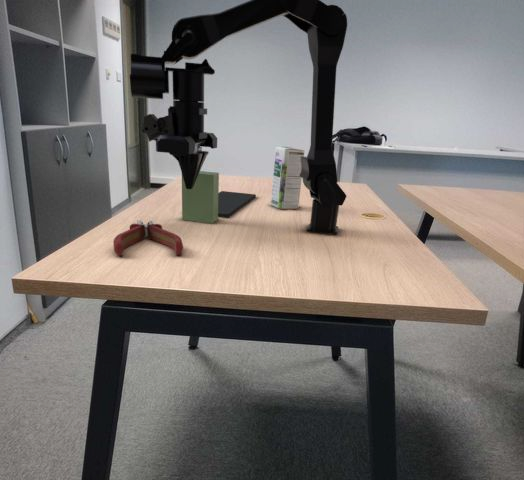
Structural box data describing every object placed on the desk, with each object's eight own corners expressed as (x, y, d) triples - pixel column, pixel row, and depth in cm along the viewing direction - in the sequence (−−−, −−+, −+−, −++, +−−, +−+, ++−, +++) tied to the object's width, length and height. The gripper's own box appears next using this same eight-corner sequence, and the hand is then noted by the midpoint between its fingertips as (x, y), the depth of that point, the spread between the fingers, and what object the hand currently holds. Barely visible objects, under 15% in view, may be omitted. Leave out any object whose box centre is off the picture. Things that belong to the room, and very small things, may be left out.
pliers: (173, 227, 96) (173, 214, 95) (184, 256, 79) (184, 241, 78) (115, 227, 94) (114, 214, 92) (113, 257, 76) (112, 241, 75)
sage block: (212, 223, 102) (213, 174, 98) (182, 219, 103) (181, 171, 99) (217, 219, 106) (219, 172, 101) (188, 216, 107) (188, 169, 102)
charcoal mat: (227, 217, 108) (228, 214, 108) (186, 213, 110) (186, 209, 109) (255, 197, 134) (255, 194, 134) (221, 193, 136) (222, 190, 136)
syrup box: (269, 205, 125) (274, 146, 119) (289, 204, 128) (294, 146, 121) (279, 209, 121) (284, 148, 114) (299, 209, 123) (305, 149, 116)
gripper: (166, 99, 97) (168, 179, 104) (125, 97, 81) (131, 191, 88) (218, 103, 95) (217, 184, 102) (187, 101, 79) (188, 197, 86)
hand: (189, 188), depth 95 cm, fingers closed
